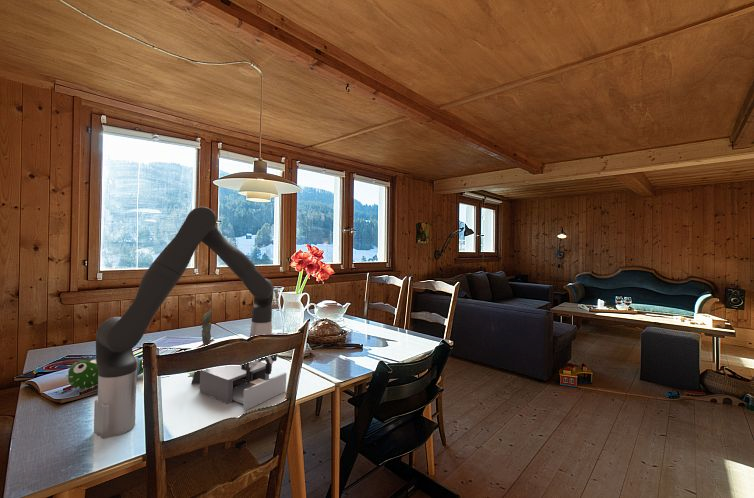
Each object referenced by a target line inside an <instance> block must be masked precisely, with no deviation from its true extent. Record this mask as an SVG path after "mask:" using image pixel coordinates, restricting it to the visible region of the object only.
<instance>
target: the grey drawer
mask: <svg viewBox="0 0 754 498" xmlns="http://www.w3.org/2000/svg"><path fill="white" fill-rule="evenodd" d="M252 381H254V380H252ZM250 382H251V381H250ZM250 382H248V381H246V383H242V384H240V385H237V386H235V387H233V392H232V401H234V402H237V403H239V404H242V408H243V411H244V412H246V411H247V410H250V409H251V408H254V407H256V406H258V405H260V404H262V403H264V402H266V401H268V400H270V399H273V398H274V397H276V396H278V395H281V394H282V393H284V392H286V391H287V372H282V373H280V374H278V375H275V376H273V377H271V378H270V377H269V379H268V380H266V381H263V382H261V383H258V384H256V385H254V386H251V387H249V386H250Z"/></svg>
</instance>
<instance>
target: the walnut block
mask: <svg viewBox="0 0 754 498" xmlns="http://www.w3.org/2000/svg"><path fill="white" fill-rule="evenodd" d="M263 381H266V380H263V379H260V378H259V379H256V380H254V381H251V382H250V386H249V387H251V386H254V385H256V384H258V383H261V382H263Z"/></svg>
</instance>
